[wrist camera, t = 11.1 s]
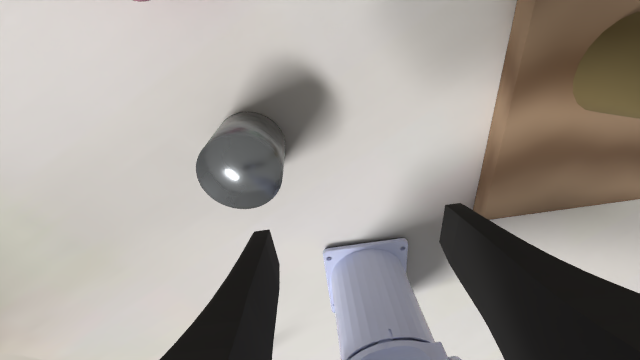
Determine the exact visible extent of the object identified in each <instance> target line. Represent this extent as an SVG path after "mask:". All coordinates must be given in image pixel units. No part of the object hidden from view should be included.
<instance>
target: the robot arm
mask: <svg viewBox="0 0 640 360" xmlns="http://www.w3.org/2000/svg"><path fill="white" fill-rule="evenodd" d="M439 242H440V244H441V246H442V249H443V251H444V253H445V255H446V257H447V260H448V262H449V264H450V266H451V267H452V269H453V270H454V272H455V274H456V275H457V277H458V279H459V280H460V282H461V283H462V285H463V287H464V288H465V290H466V291H467V293H468V295H469V296H470V298H471V299H472V301H473V302H474V304H475V306H476V307H477V309H478V310H479V312H480V314H481V315H482V317H483V319H484V320H485V322H486V324H487V326H488V327H489V329H490V331H491V333H492V335H493V337H494V339H495V341H496V343H497V345H498V347H499V349H500V351H501V353H502V355H503V357H504V359H505V360H640V293H637V292H634V291H632V290H629V289H627V288H624V287H622V286H619V285H617V284H614V283H612V282H609V281H607V280H604V279H602V278H599V277H597V276H595V275H592V274H590V273H588V272H586V271H583V270H581V269H579V268H577V267H575V266H573V265H570V264H568V263H566V262H564V261H562V260H560V259H558V258H556V257H554V256H552V255H550V254H548V253H546V252H544V251H542V250H540V249H538V248H536V247H535V246H533V245H531V244H529V243H527V242H525V241H524V240H522V239H520V238H518V237H516V236H515V235H513V234H511V233H510V232H508V231H506V230H504V229H503V228H501V227H499V226H498V225H496V224H494V223H493V222H491V221H489V220H488V219H486V218H485V217H483V216H481V215H480V214H478V213H476V212H475V211H473V210H471V209H470V208H468V207H466V206H465V205H463V204H461V203H457V204H450V205H445V211H444V217H443V223H442V229H441V235H440V241H439ZM401 247H402V248H401ZM407 253H408V242H407V240H406V239H405V238H399V239H392V240H385V241H378V242H370V243H363V244H356V245H348V246H341V247H334V248H327V249H325V250H324V251H323V258H324V264H325V270H326V277H327V283H328V290H329V296H330V302H331V309H332V312H333V313H335V315H336V323H337V331H338V339H339V347H340V355H341V360H461V359H460V358H459V357H457V356H452V357H447V354H446V352H445V350H444V348H443V345H442V343H441V342H435V341H434V339H433V337H432V334H431V332H430V329H429V327H428V325H427V322H426V320H425V318H424V315H423V313H422V311H421V308H420V306H419V304H418V301H417V299H416V297H415V294H414V292H413V290H412V287H411V285H410V282H409V280H408V278H407V275H406V268H407ZM327 257H329V258H327ZM278 296H279V261H278V258H277V254H276V251H275V247H274V244H273V240H272V237H271V233H270V230H263V231H256V232H254V233H253V234H252V236H251V238H250V240H249V242H248V243H247V245H246V247H245V249H244V250H243V252H242V254H241V255H240V257H239V259H238V261H237V262H236V264H235V265H234V267H233V268H232V270H231V272H230V273H229V275H228V276H227V278H226V279H225V281H224V282H223V284H222V285H221V287H220V288H219V289H218V291H217V292H216V294H215V295H214V297H213V298H212V299H211V301H210V302H209V303H208V305H207V306H206V307H205V309H204V310H203V311H202V312H201V314H200V315H199V316H198V317H197V319H196V320H195V321H194V322H193V323H192V325H191V326H190V327H189V328H188V329H187V330H186V331H185V333H184V334H183V335H182V336H181V337H180V338H179V339H178V341H177V342H176V343H175V344H174V345H173V346H172V347H171V348H170V349H169V350H168V351H167V353H166V354H165V355H164V356H163V357H162V358H161V359H160V360H272V350H273V340H274V331H275V322H276V314H277V305H278Z"/></svg>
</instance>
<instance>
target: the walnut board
mask: <svg viewBox="0 0 640 360" xmlns="http://www.w3.org/2000/svg"><path fill="white" fill-rule="evenodd" d="M636 12H640V0H517V4H516V9H515V14H514V19H513V23H512V28H511V33H510V38H509V42H508V47H507V52H506V57H505V61H504V66H503V71H502V75H501V80H500V85H499V90H498V94H497V99H496V104H495V109H494V113H493V118H492V123H491V127H490V132H489V137H488V142H487V146H486V151H485V156H484V161H483V165H482V170H481V175H480V180H479V184H478V189H477V194H476V198H475V203H474V208H473V210H474V211H475V212H476V213H478V214H480V215H481V216H483V217H485V218H486V219H488V220H490V219H497V218H504V217H512V216H519V215H526V214H534V213H541V212H548V211H555V210H563V209H570V208H577V207H584V206H592V205H599V204H606V203H614V202H621V201H628V200H635V199H640V119H637V118H631V117H624V116H618V115H612V114H605V113H599V112H593V111H589V110H585V109H584V108H582V107H581V106H580V105H579V104H577V102H576V99H575V97H574V94H573V79H574V76H575V73H576V70H577V67H578V64H579V63H580V61H581V59H582V58H583V56H584V54H585V53H586V51H587V50H588V48H589V47H590V46H591V45H592V43H593V42H594V41H595V40H596V39H597V38H598V37H599V36H600V35H601V34H602V33H603V32H604V31H605V30H606V29H608V28H609V27H611V26H612V25H613V24H615V23H616V22H617V21H619V20H620V19H622V18H625V17H627V16H629V15H631V14H633V13H636Z"/></svg>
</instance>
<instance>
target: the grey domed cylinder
mask: <svg viewBox="0 0 640 360" xmlns="http://www.w3.org/2000/svg"><path fill="white" fill-rule="evenodd" d="M284 157H285V139H284V136H283V134H282V132H281V130H280V128H279V127H278V126H277V125H276V124H275V123H274V122H273V121H272V120H271V119H269V118H268V117H266V116H264V115H261V114H258V113H254V112H241V113H237V114H234V115H232V116H230V117H229V118H227V119H226V120H225V121H224V122H223V123H222V124H221V126H220V127H219V128H218V129H217V131H216V132H215V133H214V135H213V136H212V137H211V139H210V140H209V141H208V143H207V144H206V145H205V147H204V148H203V149H202V151H201V152H200V154H199V156H198V159H197V163H196V173H197V178H198V181H199V183H200V185H201V186H202V188H203V189H204V191H205V192H206V193H207V194H208V195H209V196H210V197H211V198H213V199H214V200H215V201H217V202H219V203H221V204H223V205H225V206H228V207H232V208H237V209H251V208H256V207H259V206H262V205H264V204H266V203H267V202H269V201H270V200H271V199H273V197H274V196H275V195H276V194H277V192H278V191H279V189H280V187H281V183H282V177H283V167H284Z"/></svg>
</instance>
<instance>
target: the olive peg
mask: <svg viewBox="0 0 640 360" xmlns="http://www.w3.org/2000/svg"><path fill="white" fill-rule="evenodd" d="M573 94H574V97H575V99H576V102H577V104H579V105H580V106H581V107H582V108H584V109H585V110H589V111H593V112H599V113H605V114H612V115H618V116H624V117H631V118H637V119H640V12H636V13H633V14H631V15H629V16H627V17H625V18H622V19H620V20H619V21H617V22H616V23H615V24H613V25H612V26H611V27H609V28H608V29H606V30H605V31H604V32H603V33H602V34H601V35H600V36H599V37H598V38H597V39H596V40H595V41H594V42H593V43H592V45H591V46H590V47H589V48H588V50H587V51H586V53H585V54H584V56H583V58H582V59H581V61H580V63H579V64H578V67H577V70H576V73H575V76H574V79H573Z"/></svg>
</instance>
